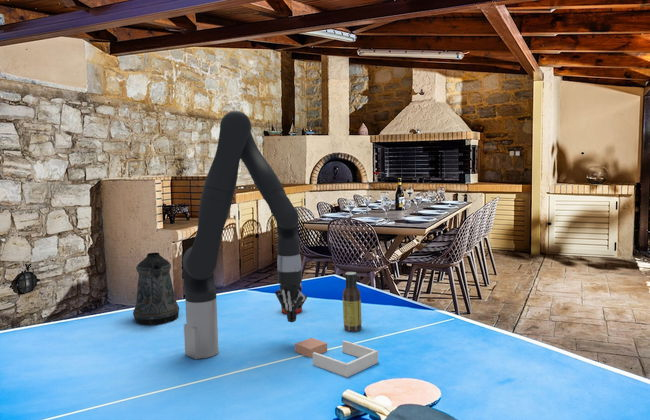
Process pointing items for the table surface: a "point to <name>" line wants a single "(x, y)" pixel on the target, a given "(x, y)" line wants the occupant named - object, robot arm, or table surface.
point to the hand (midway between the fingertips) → (291, 321)
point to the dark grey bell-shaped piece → (155, 292)
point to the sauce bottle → (351, 303)
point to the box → (347, 369)
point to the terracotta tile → (310, 347)
